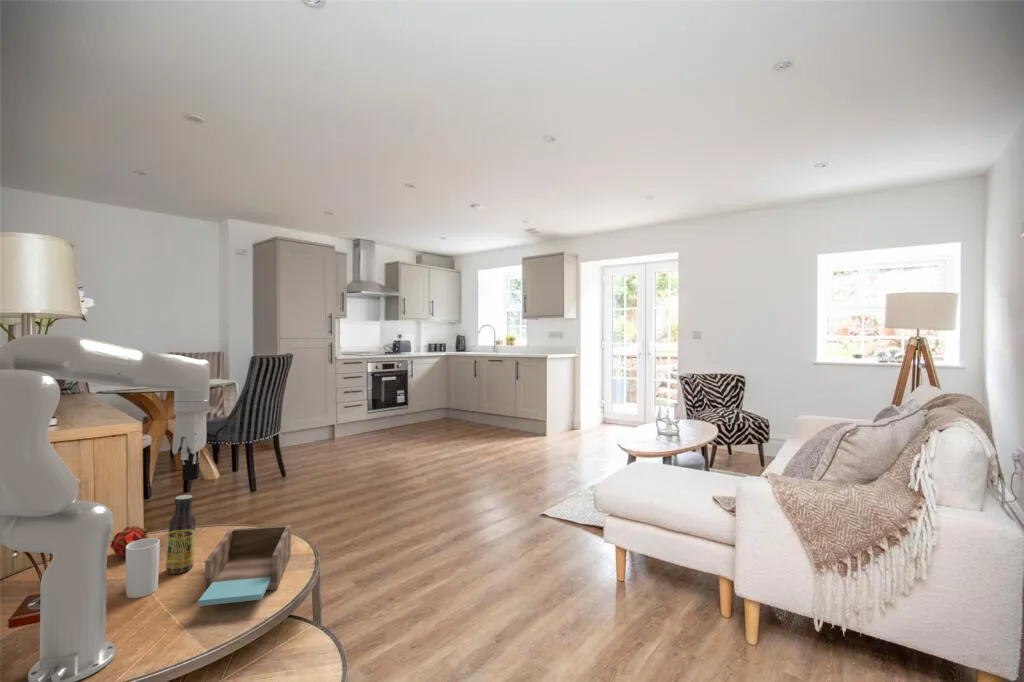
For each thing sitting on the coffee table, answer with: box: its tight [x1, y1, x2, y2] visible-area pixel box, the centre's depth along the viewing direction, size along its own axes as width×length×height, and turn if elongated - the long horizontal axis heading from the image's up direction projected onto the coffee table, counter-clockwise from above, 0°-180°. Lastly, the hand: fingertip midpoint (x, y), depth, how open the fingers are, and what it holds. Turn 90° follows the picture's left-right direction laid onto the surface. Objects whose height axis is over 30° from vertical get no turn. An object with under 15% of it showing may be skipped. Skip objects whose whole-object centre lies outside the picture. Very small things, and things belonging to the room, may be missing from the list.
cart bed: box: [204, 524, 292, 592], centre depth 133 cm, size 20×16×9 cm
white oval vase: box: [125, 537, 160, 599], centre depth 125 cm, size 10×7×12 cm, turn 24°
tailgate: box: [197, 577, 271, 607], centre depth 118 cm, size 2×13×10 cm
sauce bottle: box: [165, 494, 197, 575], centre depth 135 cm, size 7×6×20 cm
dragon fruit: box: [110, 525, 149, 561], centre depth 143 cm, size 8×8×12 cm
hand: (190, 478), depth 127 cm, fingers closed
